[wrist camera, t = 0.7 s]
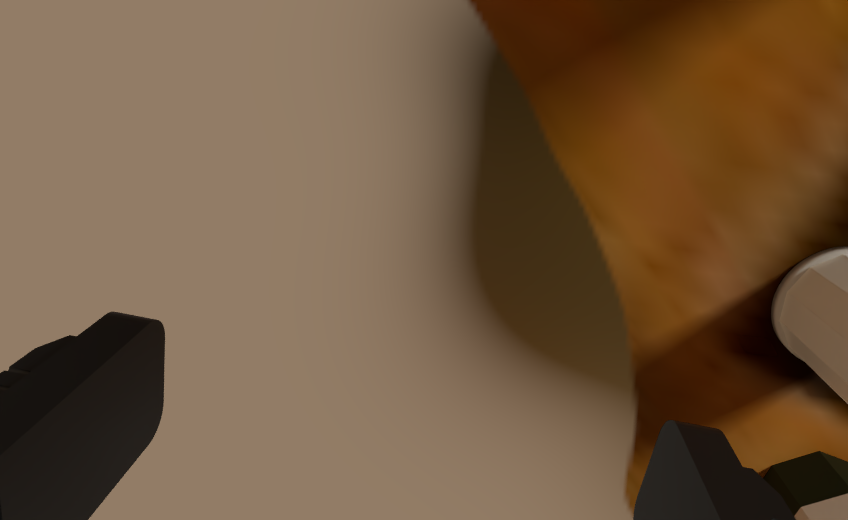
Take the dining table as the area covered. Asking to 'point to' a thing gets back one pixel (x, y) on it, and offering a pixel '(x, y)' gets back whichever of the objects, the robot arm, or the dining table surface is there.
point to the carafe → (816, 315)
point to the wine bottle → (812, 486)
